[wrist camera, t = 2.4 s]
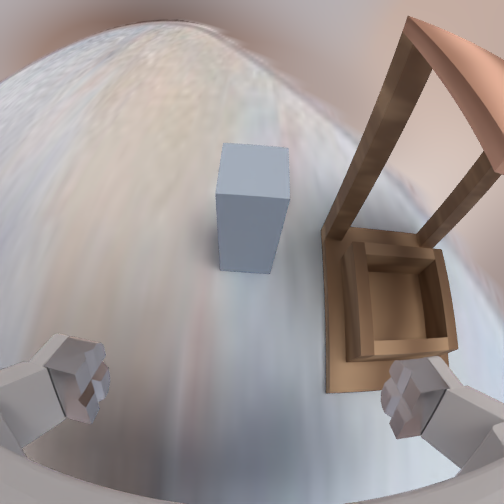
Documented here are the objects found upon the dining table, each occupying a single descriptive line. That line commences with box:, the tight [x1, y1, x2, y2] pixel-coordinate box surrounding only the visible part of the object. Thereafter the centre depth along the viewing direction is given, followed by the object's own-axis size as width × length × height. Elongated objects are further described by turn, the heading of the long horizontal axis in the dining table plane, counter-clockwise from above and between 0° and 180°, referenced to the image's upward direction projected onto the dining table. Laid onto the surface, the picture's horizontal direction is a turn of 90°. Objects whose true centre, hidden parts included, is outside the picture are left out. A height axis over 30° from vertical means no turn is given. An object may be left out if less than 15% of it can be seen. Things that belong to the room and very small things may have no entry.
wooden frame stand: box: [321, 16, 504, 393], centre depth 16 cm, size 11×14×20 cm
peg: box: [216, 143, 290, 274], centre depth 22 cm, size 4×4×10 cm
